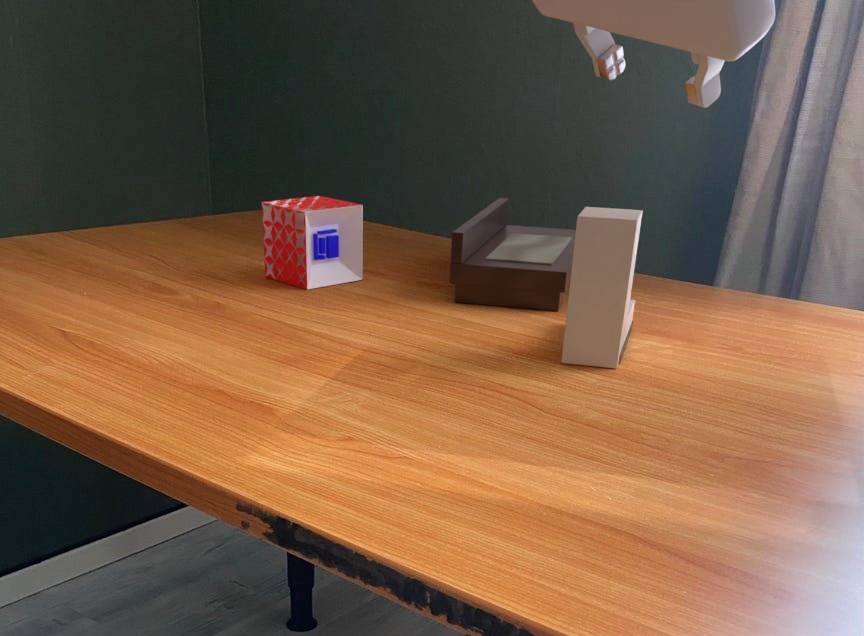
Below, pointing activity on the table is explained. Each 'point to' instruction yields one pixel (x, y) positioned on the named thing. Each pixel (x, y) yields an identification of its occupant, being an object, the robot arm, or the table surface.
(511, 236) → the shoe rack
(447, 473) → the table surface
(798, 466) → the table surface
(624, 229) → the white upright block
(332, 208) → the red and white cube
